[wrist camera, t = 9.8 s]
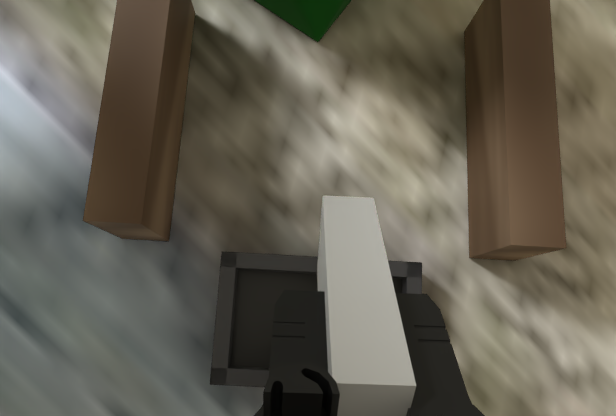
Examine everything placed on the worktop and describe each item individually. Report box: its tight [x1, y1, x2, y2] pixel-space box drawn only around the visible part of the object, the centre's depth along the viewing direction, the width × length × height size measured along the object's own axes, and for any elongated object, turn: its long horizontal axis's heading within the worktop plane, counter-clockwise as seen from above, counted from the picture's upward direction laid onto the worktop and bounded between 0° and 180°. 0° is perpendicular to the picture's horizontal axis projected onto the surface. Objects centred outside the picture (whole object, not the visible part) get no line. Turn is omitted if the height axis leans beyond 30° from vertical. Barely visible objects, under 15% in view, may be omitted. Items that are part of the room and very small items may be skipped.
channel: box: [83, 0, 566, 260], centre depth 20 cm, size 17×11×4 cm, turn 87°
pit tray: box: [210, 252, 422, 387], centre depth 19 cm, size 8×5×2 cm, turn 87°
